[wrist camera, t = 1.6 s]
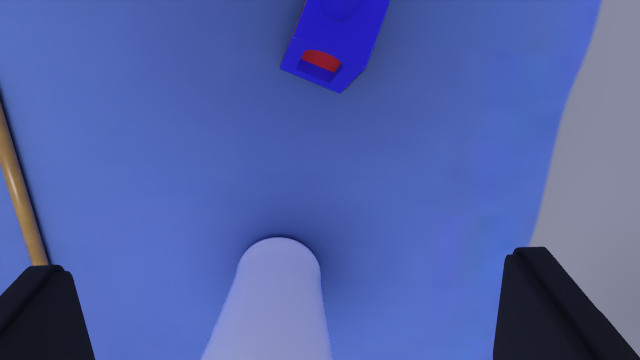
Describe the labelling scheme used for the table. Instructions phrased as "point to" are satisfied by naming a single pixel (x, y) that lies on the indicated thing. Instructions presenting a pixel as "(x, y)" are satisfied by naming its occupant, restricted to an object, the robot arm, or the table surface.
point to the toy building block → (334, 41)
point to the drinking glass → (273, 307)
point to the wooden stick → (20, 196)
